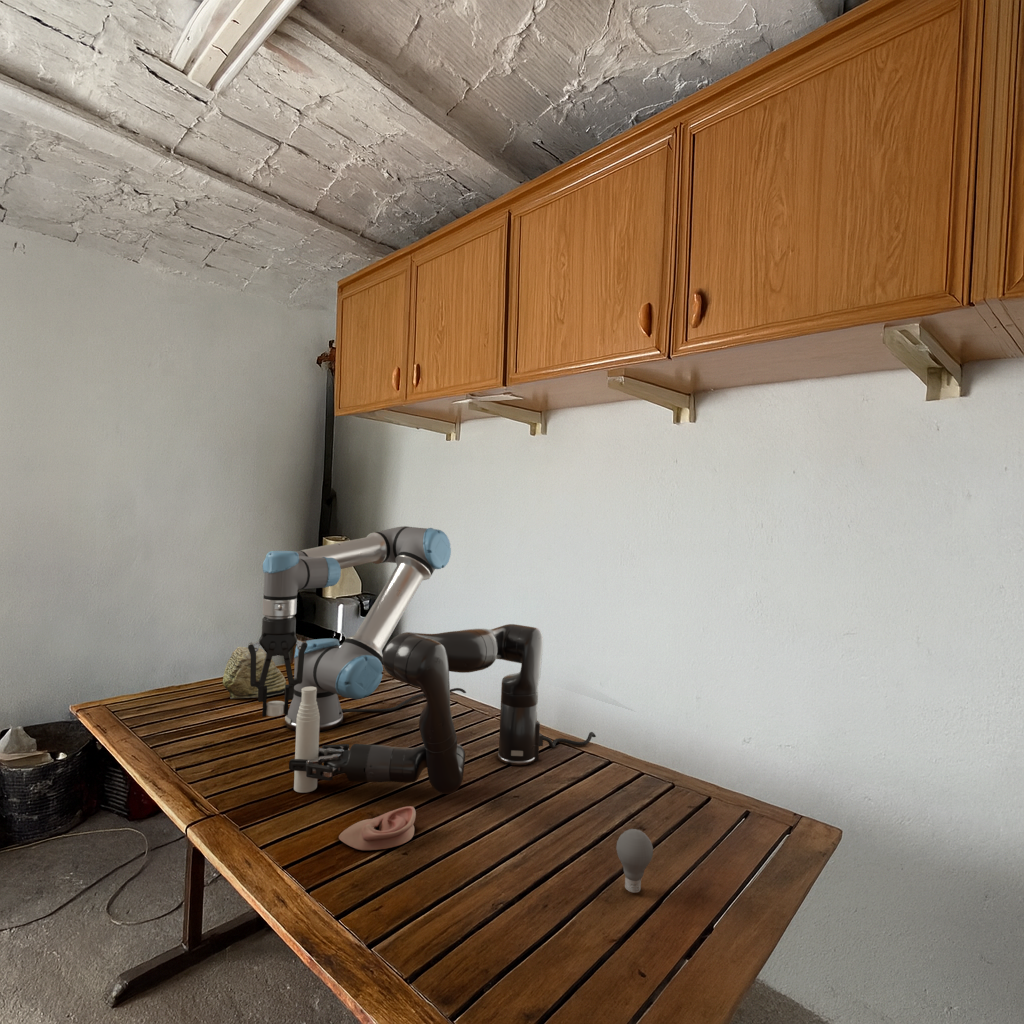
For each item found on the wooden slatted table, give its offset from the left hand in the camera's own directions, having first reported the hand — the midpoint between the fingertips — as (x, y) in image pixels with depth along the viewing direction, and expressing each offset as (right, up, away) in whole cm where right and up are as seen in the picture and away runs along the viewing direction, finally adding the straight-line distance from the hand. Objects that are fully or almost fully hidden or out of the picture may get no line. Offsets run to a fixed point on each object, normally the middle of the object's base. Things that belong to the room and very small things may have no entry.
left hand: (275, 713), depth 151 cm
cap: (0, +2, 0) cm, 2 cm away
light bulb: (+77, -15, -45) cm, 90 cm away
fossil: (-24, -9, +47) cm, 54 cm away
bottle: (+12, -12, -13) cm, 21 cm away
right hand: (+9, -6, -13) cm, 17 cm away
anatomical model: (+31, -13, -31) cm, 46 cm away
